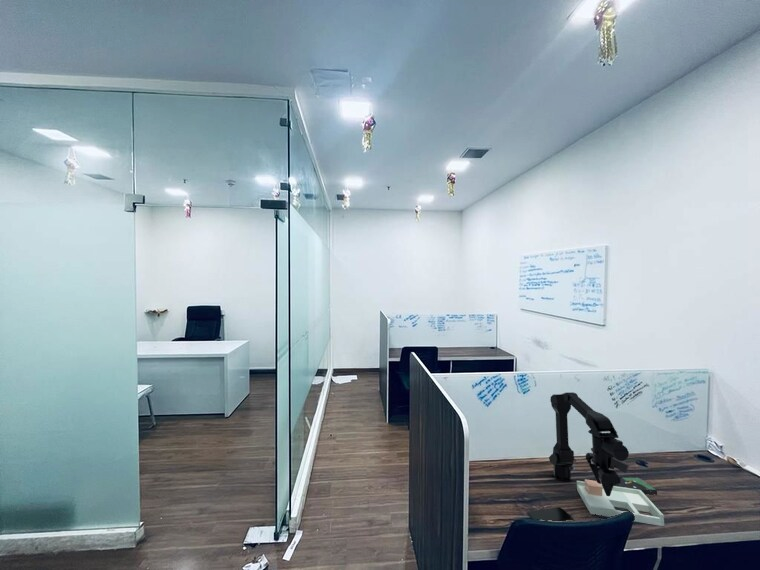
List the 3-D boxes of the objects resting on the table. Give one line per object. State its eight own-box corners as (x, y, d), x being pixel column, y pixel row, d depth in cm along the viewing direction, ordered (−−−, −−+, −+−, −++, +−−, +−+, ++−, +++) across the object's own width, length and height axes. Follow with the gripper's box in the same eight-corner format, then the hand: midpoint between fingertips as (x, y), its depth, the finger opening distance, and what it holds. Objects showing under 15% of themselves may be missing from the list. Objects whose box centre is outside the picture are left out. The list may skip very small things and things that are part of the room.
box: (590, 513, 122) (590, 503, 123) (577, 489, 139) (576, 480, 139) (664, 526, 115) (663, 515, 116) (641, 499, 131) (640, 489, 132)
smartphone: (560, 508, 126) (525, 513, 123) (560, 506, 126) (525, 510, 123) (575, 521, 118) (539, 526, 115) (575, 519, 118) (539, 524, 115)
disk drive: (623, 495, 135) (658, 496, 135) (623, 489, 135) (657, 489, 135) (607, 482, 146) (639, 482, 145) (606, 476, 146) (638, 476, 145)
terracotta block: (588, 494, 131) (588, 485, 132) (584, 487, 136) (584, 479, 136) (602, 496, 130) (602, 487, 130) (598, 489, 135) (597, 481, 135)
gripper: (636, 462, 112) (639, 507, 111) (614, 441, 130) (616, 480, 129) (601, 458, 116) (603, 501, 114) (584, 438, 133) (586, 476, 132)
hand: (603, 489), depth 122 cm, fingers open, 9 cm apart
